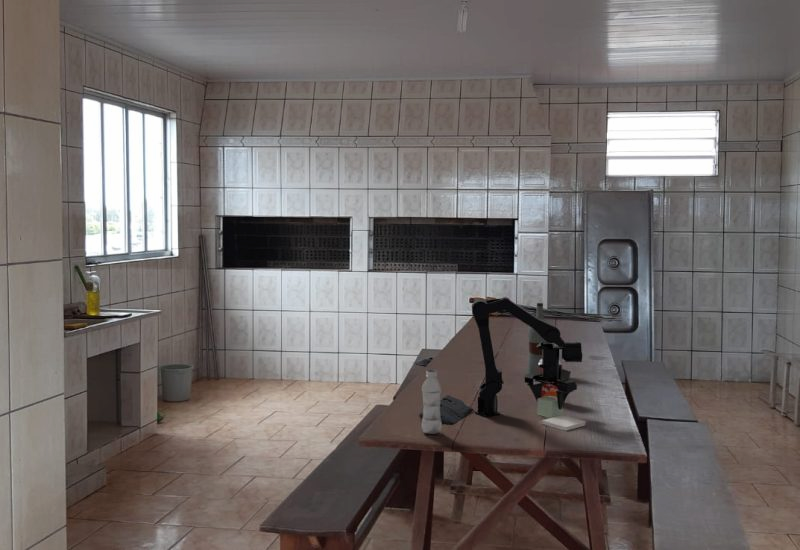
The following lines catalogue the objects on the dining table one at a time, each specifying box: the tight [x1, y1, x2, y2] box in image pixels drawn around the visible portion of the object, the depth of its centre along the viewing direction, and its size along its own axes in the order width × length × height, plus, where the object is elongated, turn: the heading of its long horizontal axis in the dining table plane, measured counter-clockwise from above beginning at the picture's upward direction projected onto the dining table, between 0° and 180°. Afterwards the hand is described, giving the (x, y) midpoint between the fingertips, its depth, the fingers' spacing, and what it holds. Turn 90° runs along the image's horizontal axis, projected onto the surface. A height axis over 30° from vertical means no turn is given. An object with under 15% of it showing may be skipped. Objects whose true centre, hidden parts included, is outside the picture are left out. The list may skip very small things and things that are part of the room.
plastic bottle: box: [421, 369, 443, 435], centre depth 257 cm, size 6×7×20 cm
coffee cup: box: [538, 359, 561, 397], centre depth 297 cm, size 8×8×15 cm
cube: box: [536, 396, 564, 419], centre depth 278 cm, size 6×6×6 cm
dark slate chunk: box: [418, 394, 474, 425], centre depth 279 cm, size 15×22×5 cm
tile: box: [541, 414, 586, 432], centre depth 267 cm, size 10×10×1 cm
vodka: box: [527, 302, 548, 374], centre depth 341 cm, size 9×9×30 cm
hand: (549, 406), depth 278 cm, fingers open, 9 cm apart
